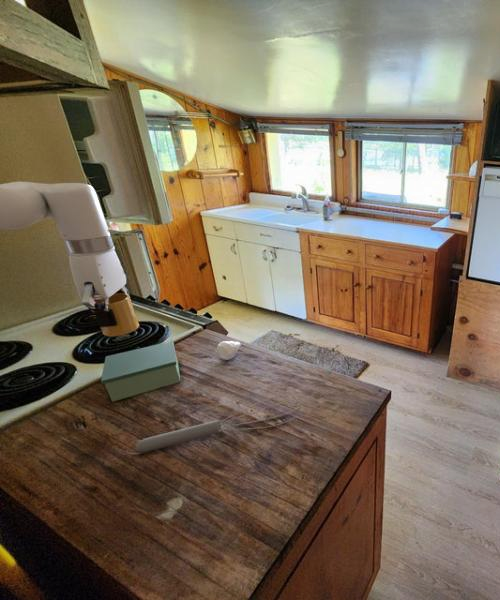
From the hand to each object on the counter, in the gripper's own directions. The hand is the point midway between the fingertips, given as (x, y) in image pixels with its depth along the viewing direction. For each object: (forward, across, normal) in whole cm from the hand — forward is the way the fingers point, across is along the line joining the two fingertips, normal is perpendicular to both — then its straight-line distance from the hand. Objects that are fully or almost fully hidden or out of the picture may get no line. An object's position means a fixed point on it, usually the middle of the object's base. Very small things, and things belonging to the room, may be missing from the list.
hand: (117, 317), depth 77 cm
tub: (+19, -1, +1) cm, 19 cm away
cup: (+3, 0, 0) cm, 3 cm away
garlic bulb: (+20, -9, +20) cm, 29 cm away
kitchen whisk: (+20, +23, +24) cm, 39 cm away
